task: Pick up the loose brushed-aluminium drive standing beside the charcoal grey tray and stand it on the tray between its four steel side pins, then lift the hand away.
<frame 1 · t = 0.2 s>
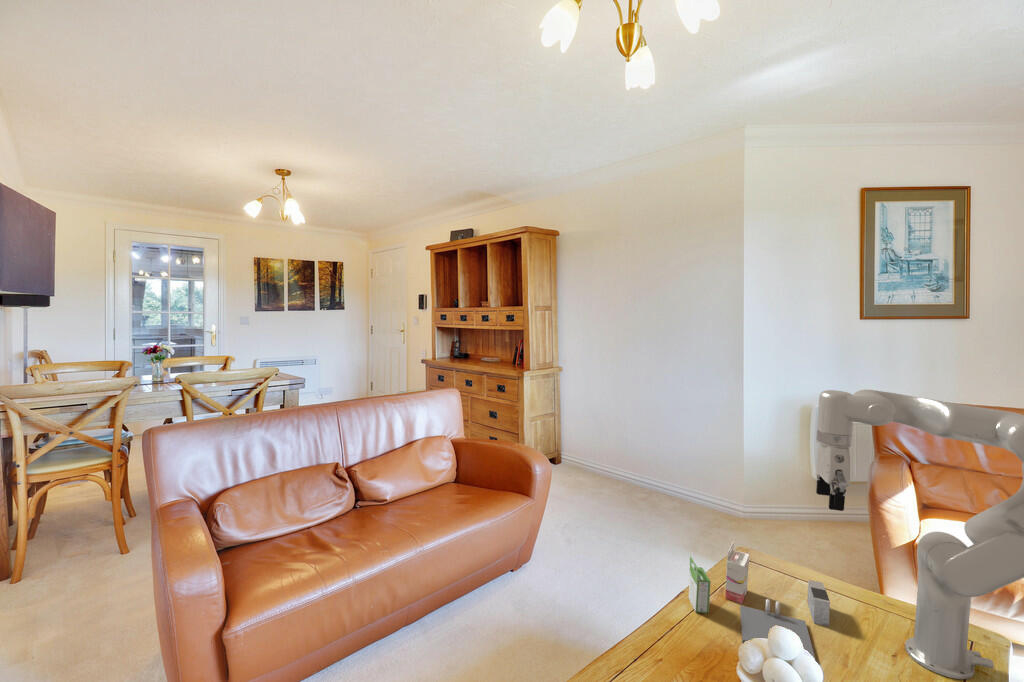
hand: (829, 501, 122), 36 cm above the table, tool pointing down, fingers open, 9 cm apart
drive: (817, 614, 132), on the table
ink box: (698, 606, 135), on the table
ink cartridge box: (736, 595, 141), on the table
pin tray: (774, 633, 124), on the table
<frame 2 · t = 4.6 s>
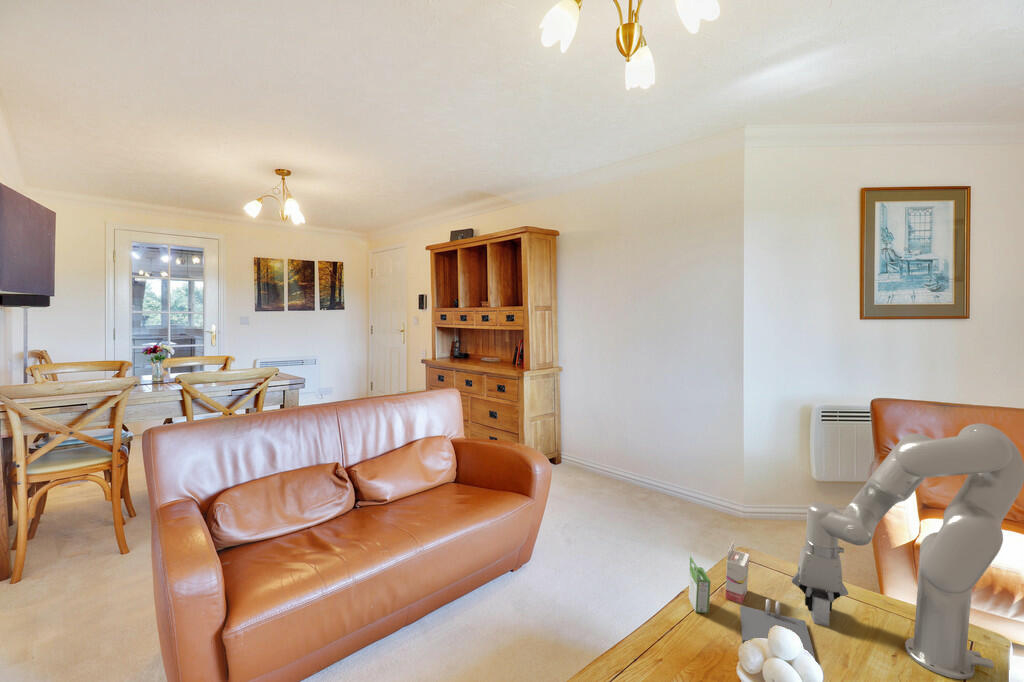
hand: (817, 609, 132), 1 cm above the table, tool pointing down, fingers closed on drive, 3 cm apart
drive: (817, 613, 132), on the table, touching gripper
everything else where it was.
when the fingers open (3 cm above the table, at t = 11.6 s): drive stays where it is, resting on pin tray.
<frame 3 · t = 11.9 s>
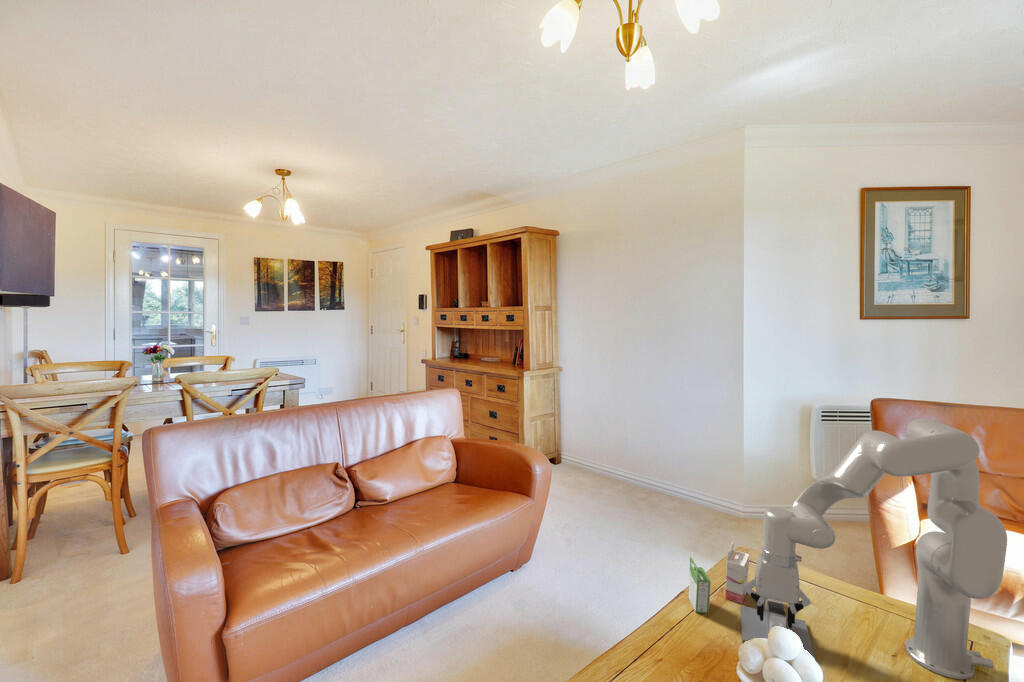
hand: (775, 620, 124), 4 cm above the table, tool pointing down, fingers open, 6 cm apart
drive: (774, 629, 124), point 1 cm above the table, touching pin tray
everything else where it was.
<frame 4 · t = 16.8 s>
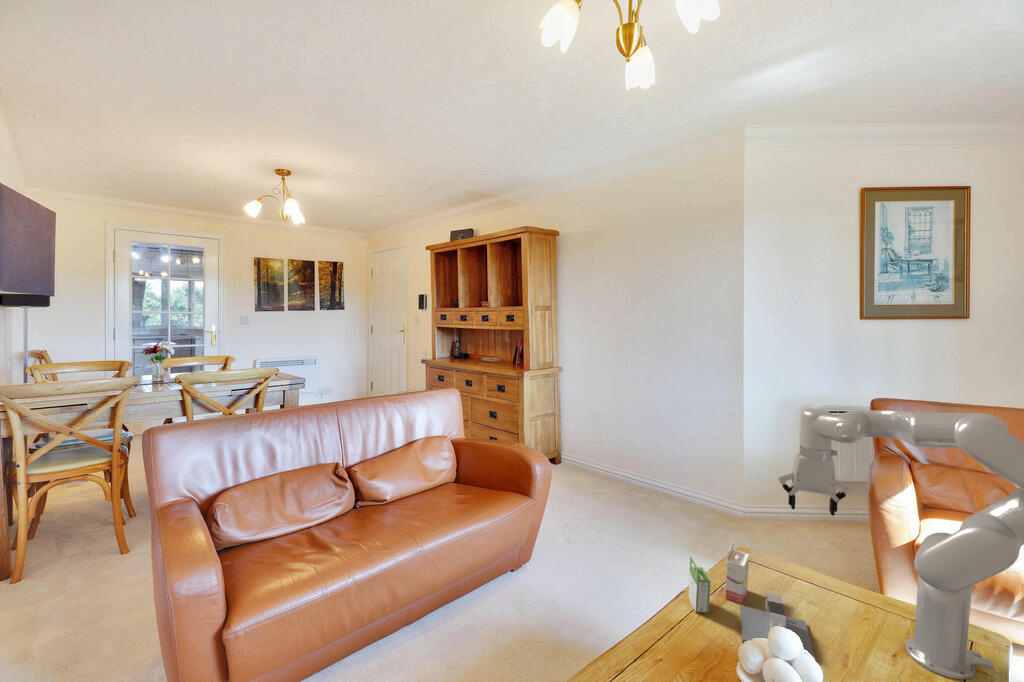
hand: (811, 510, 134), 28 cm above the table, tool pointing down, fingers open, 9 cm apart
nothing on the table moved.
at the end: drive 0.1 cm off-centre on the pin tray, point 1.0 cm above the pin tray's base; drive tilted 0°; the gripper is holding nothing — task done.
